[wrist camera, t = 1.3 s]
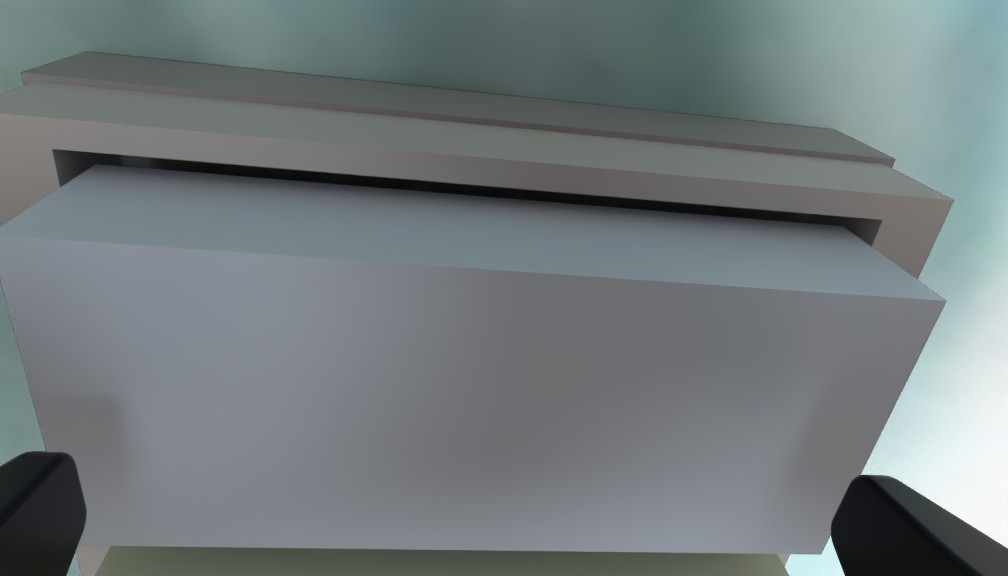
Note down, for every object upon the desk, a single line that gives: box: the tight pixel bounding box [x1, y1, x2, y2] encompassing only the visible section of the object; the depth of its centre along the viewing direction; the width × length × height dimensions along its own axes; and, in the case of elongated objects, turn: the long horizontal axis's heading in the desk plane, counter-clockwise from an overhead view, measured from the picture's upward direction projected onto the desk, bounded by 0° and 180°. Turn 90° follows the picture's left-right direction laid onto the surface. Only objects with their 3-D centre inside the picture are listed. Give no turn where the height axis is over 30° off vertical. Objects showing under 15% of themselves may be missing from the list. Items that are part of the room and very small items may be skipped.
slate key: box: [0, 164, 946, 554], centre depth 10 cm, size 11×5×2 cm, turn 83°
